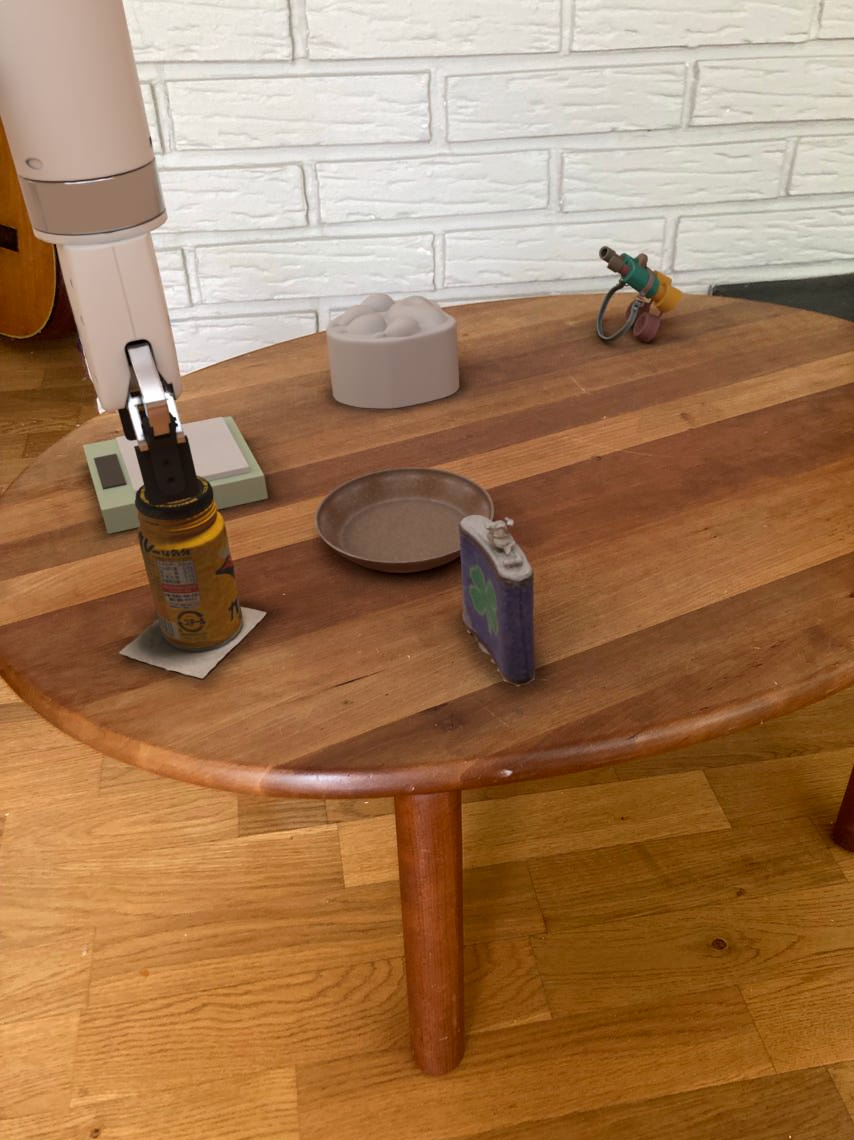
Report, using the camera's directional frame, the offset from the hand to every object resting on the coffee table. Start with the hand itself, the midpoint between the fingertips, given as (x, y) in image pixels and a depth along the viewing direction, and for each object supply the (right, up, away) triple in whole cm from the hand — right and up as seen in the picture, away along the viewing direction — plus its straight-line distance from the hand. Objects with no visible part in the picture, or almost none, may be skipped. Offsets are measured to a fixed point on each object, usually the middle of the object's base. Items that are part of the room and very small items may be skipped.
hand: (161, 465), depth 72 cm
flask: (+23, -12, +7) cm, 27 cm away
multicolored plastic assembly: (+39, +23, +52) cm, 69 cm away
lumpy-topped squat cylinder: (+12, +15, +43) cm, 47 cm away
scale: (-7, +3, +27) cm, 28 cm away
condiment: (0, -11, +9) cm, 14 cm away
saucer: (+15, -3, +19) cm, 24 cm away
